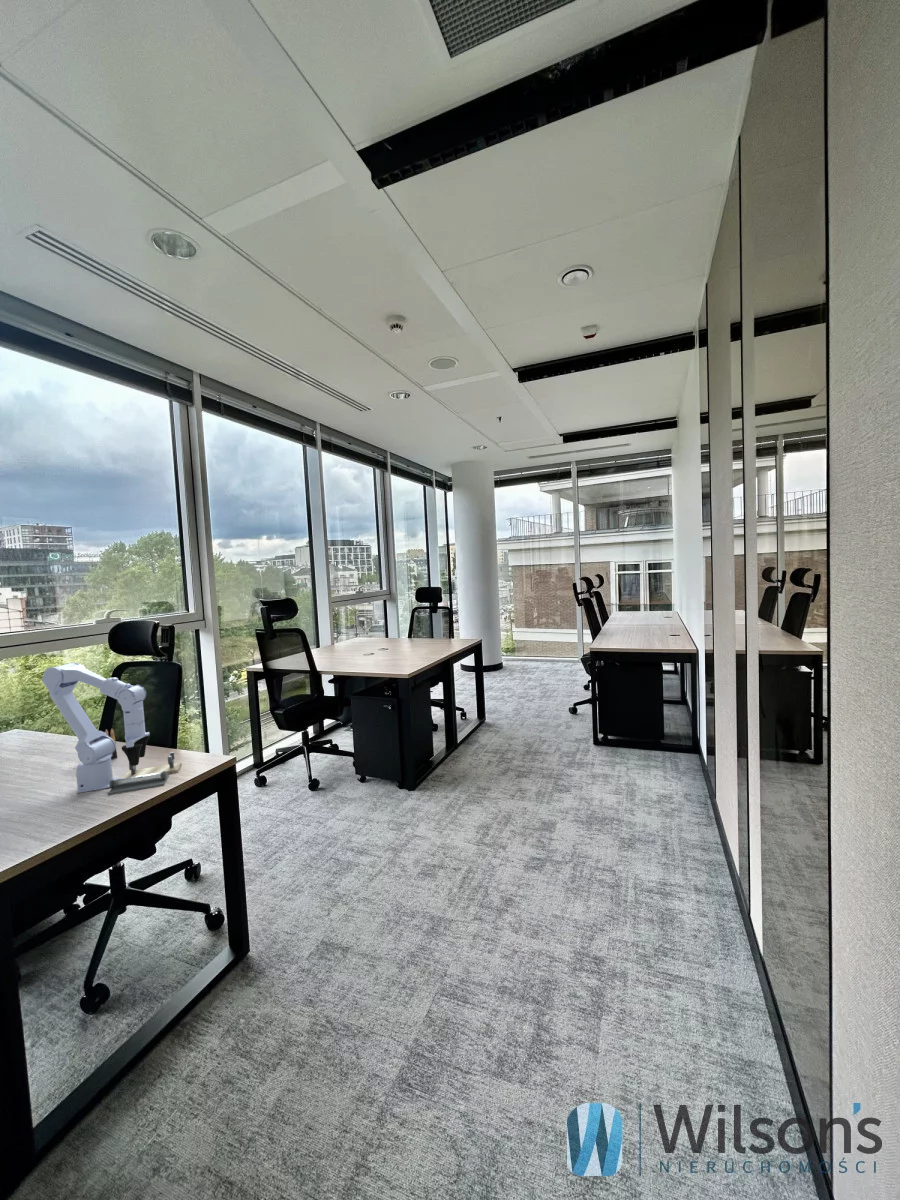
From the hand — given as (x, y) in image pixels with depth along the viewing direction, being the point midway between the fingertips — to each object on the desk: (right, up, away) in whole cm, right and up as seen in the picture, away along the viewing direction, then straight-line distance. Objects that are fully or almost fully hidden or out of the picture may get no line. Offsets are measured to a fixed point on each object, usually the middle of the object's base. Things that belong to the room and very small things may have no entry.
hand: (137, 761), depth 161 cm
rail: (0, -8, 0) cm, 8 cm away
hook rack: (-1, -8, +10) cm, 13 cm away
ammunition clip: (-31, -9, +25) cm, 41 cm away
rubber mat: (0, -8, 0) cm, 8 cm away
